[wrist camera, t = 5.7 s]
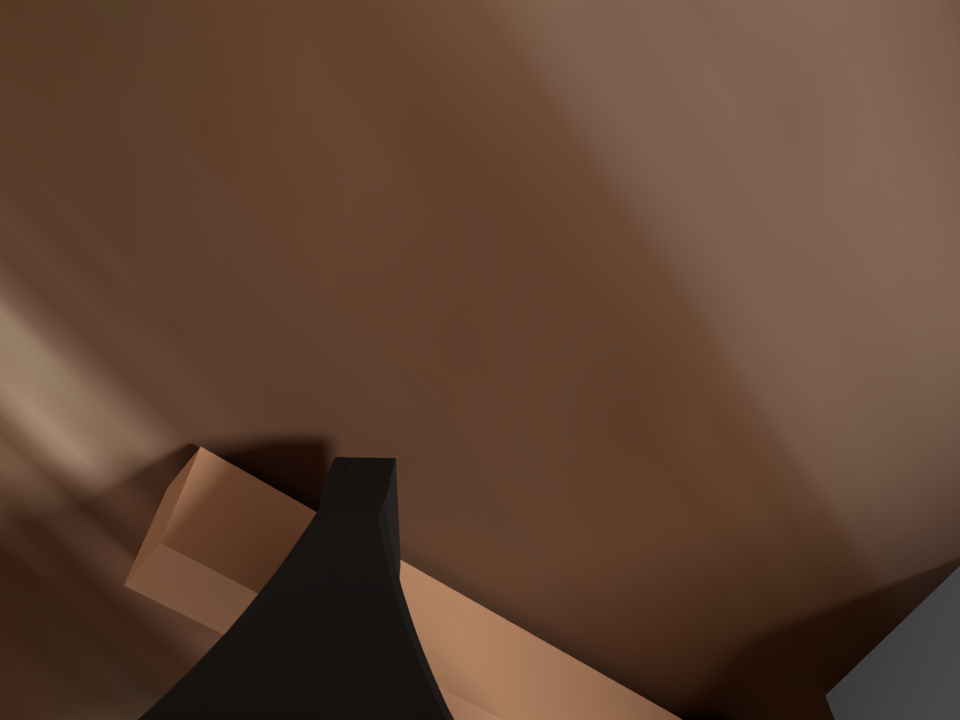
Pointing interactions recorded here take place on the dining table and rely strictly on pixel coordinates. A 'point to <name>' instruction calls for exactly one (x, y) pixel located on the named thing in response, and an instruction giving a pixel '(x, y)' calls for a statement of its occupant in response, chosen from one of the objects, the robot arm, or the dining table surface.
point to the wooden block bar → (432, 605)
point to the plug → (909, 667)
